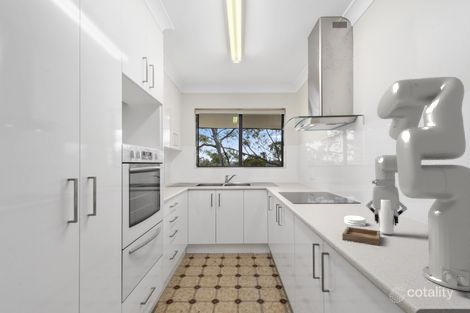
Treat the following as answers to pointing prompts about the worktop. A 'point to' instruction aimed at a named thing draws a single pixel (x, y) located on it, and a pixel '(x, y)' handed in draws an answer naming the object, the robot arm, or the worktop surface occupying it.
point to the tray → (361, 235)
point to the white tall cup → (386, 217)
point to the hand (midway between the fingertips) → (386, 223)
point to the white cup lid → (355, 220)
